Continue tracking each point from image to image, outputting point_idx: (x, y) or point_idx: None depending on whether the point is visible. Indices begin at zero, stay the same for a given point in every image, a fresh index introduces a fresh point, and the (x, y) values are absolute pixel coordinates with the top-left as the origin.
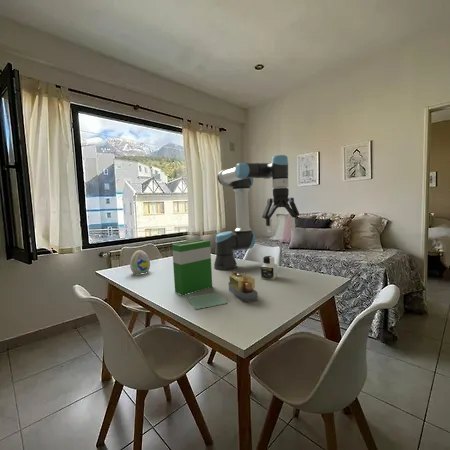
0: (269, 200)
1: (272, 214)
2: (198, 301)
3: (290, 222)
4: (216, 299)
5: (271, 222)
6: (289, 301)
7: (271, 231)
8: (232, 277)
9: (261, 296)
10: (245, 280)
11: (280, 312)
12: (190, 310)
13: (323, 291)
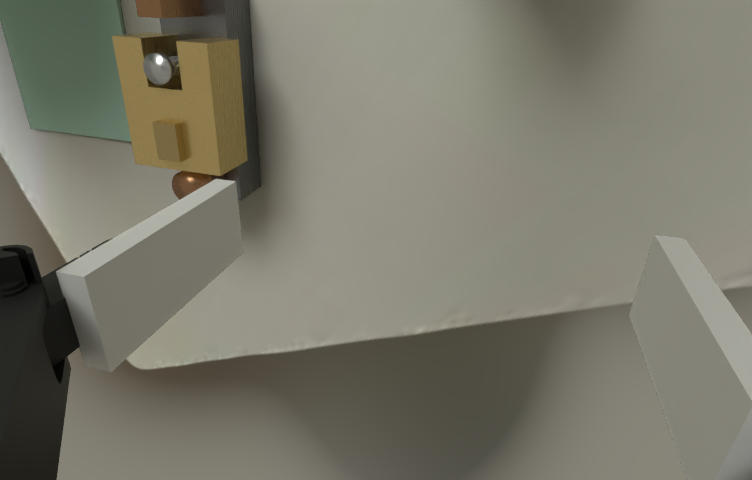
0: None
1: (52, 448)
2: (37, 60)
3: (698, 316)
4: (106, 83)
5: (147, 334)
6: (368, 267)
7: (227, 259)
8: (121, 82)
9: (296, 158)
10: (172, 168)
11: (285, 308)
12: (18, 119)
13: (588, 282)
